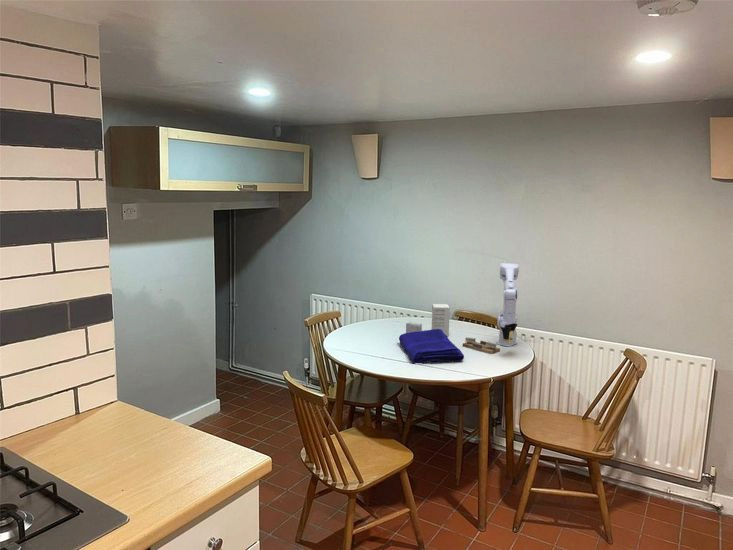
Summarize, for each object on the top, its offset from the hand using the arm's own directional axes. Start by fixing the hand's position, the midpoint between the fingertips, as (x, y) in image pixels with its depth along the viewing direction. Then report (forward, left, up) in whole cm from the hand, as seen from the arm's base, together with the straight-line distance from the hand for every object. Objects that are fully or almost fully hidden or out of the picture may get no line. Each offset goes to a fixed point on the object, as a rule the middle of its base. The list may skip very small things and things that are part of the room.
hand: (507, 338), depth 274 cm
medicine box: (+16, -50, -8) cm, 53 cm away
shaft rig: (+3, -14, -8) cm, 16 cm away
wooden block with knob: (0, 0, -2) cm, 2 cm away
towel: (+28, -28, -9) cm, 41 cm away
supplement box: (-2, -46, -8) cm, 47 cm away
